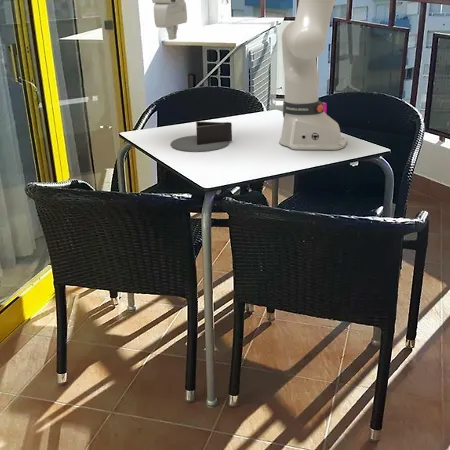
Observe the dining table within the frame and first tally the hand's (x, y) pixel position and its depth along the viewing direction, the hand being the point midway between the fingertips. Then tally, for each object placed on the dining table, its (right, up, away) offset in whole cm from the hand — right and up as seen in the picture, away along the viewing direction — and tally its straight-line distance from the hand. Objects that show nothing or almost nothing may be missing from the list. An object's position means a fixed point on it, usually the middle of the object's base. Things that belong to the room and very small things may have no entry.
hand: (172, 39), depth 216 cm
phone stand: (+8, -31, +2) cm, 33 cm away
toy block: (+49, -26, +23) cm, 60 cm away
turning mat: (+9, -35, +2) cm, 36 cm away
